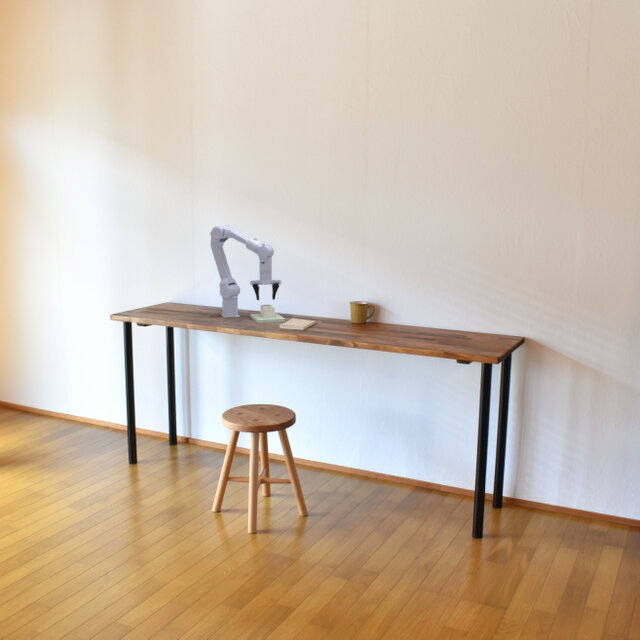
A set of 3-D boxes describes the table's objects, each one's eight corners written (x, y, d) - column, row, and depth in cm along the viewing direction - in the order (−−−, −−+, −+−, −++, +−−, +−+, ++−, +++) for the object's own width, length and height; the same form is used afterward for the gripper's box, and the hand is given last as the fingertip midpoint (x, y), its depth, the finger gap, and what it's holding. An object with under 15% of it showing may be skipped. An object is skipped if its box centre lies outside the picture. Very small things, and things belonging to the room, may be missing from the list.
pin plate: (250, 317, 379) (250, 307, 378) (276, 316, 383) (276, 306, 382) (257, 323, 364) (257, 312, 363) (285, 321, 368) (285, 311, 367)
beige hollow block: (260, 315, 376) (260, 304, 375) (269, 314, 378) (269, 304, 377) (265, 318, 368) (265, 307, 367) (274, 317, 369) (274, 307, 368)
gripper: (252, 272, 365) (252, 301, 367) (282, 271, 369) (282, 300, 372) (249, 270, 372) (249, 299, 374) (278, 270, 376) (279, 298, 378)
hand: (265, 299), depth 373 cm, fingers open, 7 cm apart
